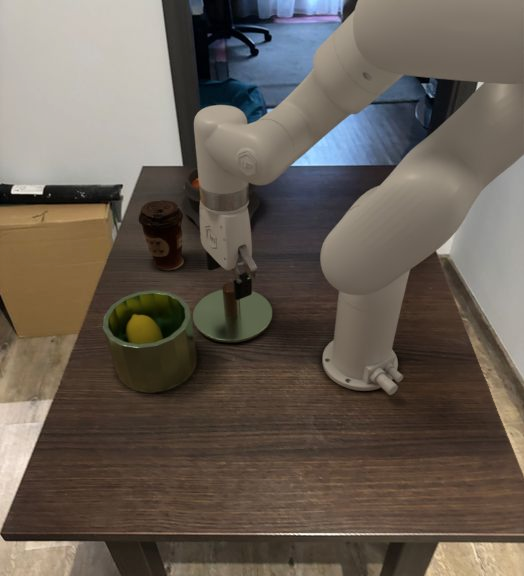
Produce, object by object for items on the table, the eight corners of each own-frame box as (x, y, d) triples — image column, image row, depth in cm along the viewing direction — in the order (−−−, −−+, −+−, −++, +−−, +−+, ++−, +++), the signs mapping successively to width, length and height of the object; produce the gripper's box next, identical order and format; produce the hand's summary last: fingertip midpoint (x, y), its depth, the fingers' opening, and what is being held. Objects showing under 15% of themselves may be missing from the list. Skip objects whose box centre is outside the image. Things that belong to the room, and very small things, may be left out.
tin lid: (287, 325, 97) (288, 294, 92) (217, 356, 92) (213, 325, 86) (246, 284, 106) (245, 254, 101) (180, 310, 101) (175, 279, 95)
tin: (210, 371, 89) (204, 325, 82) (135, 405, 84) (122, 359, 77) (176, 326, 97) (168, 280, 90) (105, 354, 92) (91, 309, 85)
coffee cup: (167, 280, 107) (157, 224, 98) (139, 265, 111) (127, 210, 102) (196, 259, 112) (189, 204, 103) (168, 246, 116) (159, 192, 107)
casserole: (181, 187, 135) (176, 156, 129) (253, 182, 136) (252, 150, 130) (184, 241, 117) (179, 207, 111) (266, 234, 119) (266, 200, 113)
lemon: (141, 360, 92) (119, 319, 90) (170, 346, 93) (149, 305, 91) (139, 367, 87) (116, 324, 85) (170, 352, 87) (147, 309, 85)
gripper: (177, 176, 85) (188, 263, 97) (230, 226, 74) (235, 317, 87) (218, 165, 87) (223, 251, 100) (275, 211, 77) (273, 301, 89)
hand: (229, 281), depth 93 cm, fingers open, 9 cm apart
